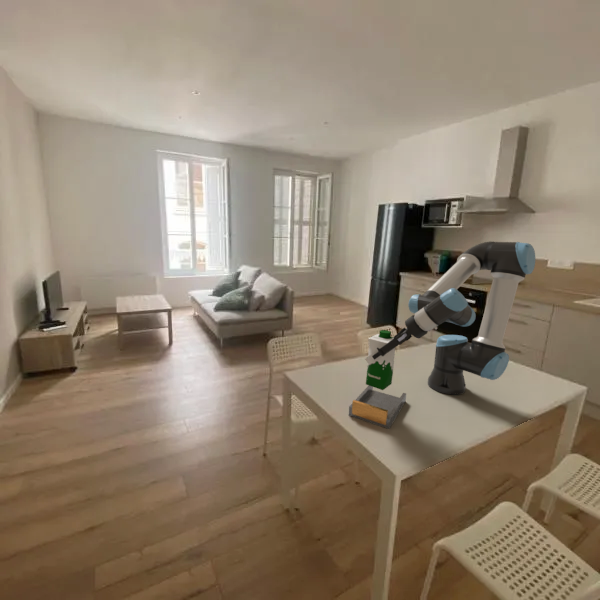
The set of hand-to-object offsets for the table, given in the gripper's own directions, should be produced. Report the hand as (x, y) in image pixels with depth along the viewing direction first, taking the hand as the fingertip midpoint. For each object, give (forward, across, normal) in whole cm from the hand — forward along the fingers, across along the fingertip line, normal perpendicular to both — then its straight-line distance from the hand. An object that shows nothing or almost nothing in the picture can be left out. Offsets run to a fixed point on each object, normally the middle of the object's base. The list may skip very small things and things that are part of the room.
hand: (371, 357), depth 119 cm
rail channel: (+12, +1, -17) cm, 20 cm away
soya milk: (+5, 0, -9) cm, 11 cm away
